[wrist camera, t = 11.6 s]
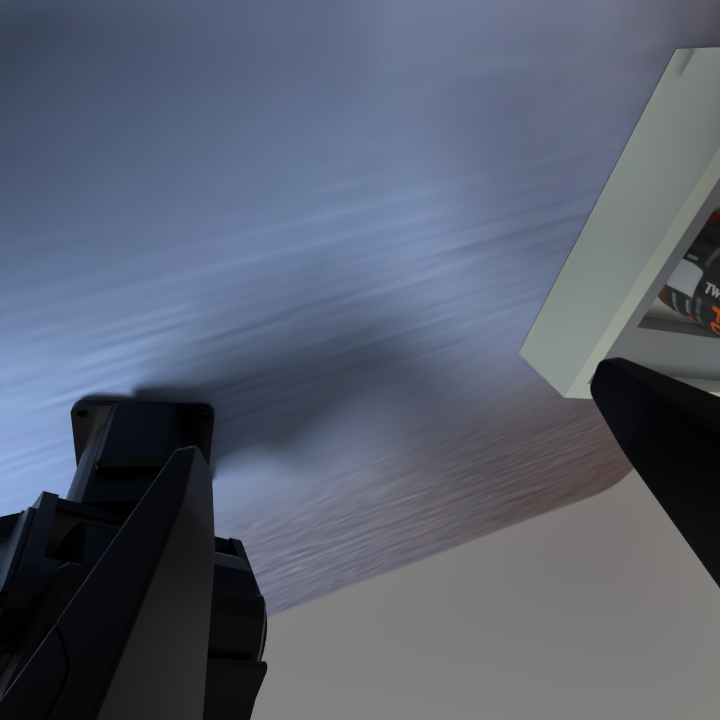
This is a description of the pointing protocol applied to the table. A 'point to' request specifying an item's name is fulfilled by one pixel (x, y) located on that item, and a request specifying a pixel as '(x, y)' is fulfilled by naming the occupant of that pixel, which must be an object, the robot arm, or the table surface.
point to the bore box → (641, 245)
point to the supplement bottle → (698, 279)
